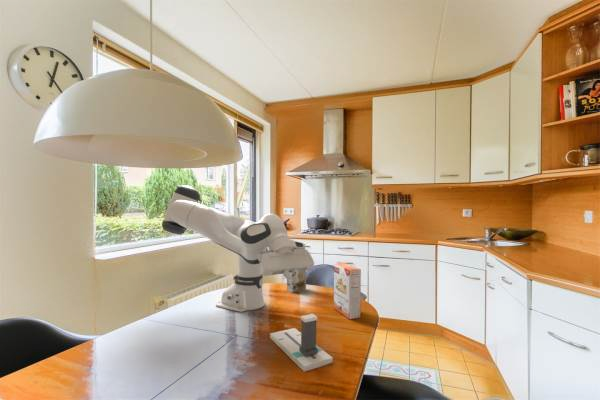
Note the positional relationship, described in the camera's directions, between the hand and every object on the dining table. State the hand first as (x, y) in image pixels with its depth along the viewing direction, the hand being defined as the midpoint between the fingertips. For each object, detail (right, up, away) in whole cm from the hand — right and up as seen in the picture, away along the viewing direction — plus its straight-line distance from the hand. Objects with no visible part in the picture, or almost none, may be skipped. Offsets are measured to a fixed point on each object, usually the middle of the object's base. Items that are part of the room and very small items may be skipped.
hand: (294, 282), depth 100 cm
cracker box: (+22, -22, +28) cm, 42 cm away
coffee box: (0, -22, +62) cm, 66 cm away
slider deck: (+1, -21, -4) cm, 21 cm away
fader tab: (+5, -19, -10) cm, 22 cm away
